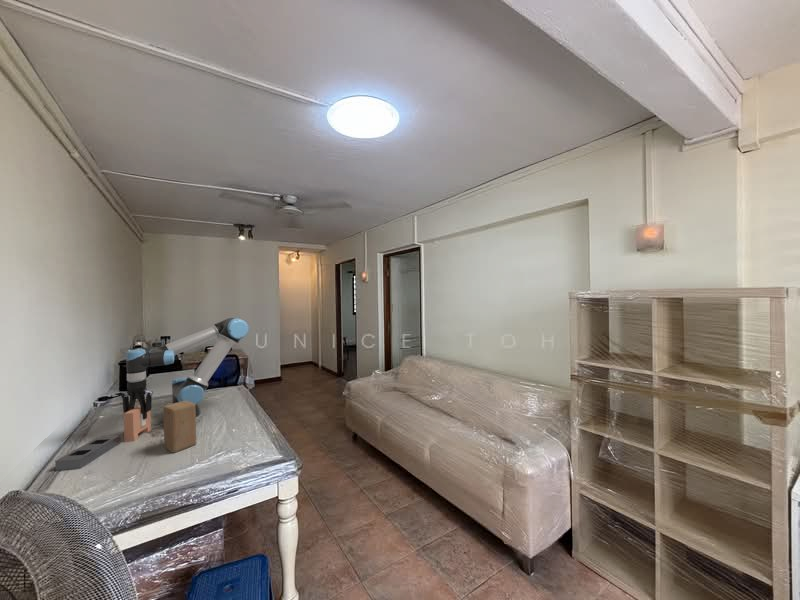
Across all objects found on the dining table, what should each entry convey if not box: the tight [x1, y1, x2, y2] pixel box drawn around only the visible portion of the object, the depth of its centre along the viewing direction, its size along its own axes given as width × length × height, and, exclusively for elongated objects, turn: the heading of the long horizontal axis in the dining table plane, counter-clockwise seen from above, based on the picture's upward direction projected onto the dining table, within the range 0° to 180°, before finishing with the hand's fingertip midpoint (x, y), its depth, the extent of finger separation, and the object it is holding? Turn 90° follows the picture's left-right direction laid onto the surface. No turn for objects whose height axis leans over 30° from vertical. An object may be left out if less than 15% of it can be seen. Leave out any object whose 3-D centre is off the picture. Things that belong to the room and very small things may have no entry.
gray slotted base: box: [54, 435, 121, 472], centre depth 140 cm, size 9×22×4 cm, turn 8°
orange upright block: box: [123, 404, 152, 443], centre depth 160 cm, size 4×13×14 cm, turn 8°
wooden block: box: [162, 401, 197, 453], centre depth 148 cm, size 10×10×20 cm
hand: (138, 425), depth 160 cm, fingers closed on orange upright block, 4 cm apart
